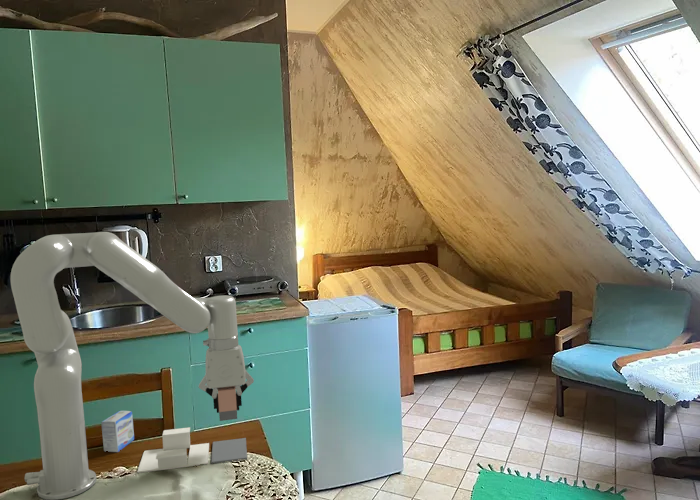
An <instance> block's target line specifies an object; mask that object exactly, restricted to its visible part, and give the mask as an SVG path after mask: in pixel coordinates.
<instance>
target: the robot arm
mask: <svg viewBox="0 0 700 500" xmlns="http://www.w3.org/2000/svg"><path fill="white" fill-rule="evenodd" d="M81 267H96V269H98V270H99V271H101V272H102V273H103V274H105V275H106V276H108V277H110V278H111V279H113V280H114V281H115V282H116V283H118V284H120V285H121V286H122V287H123V288H124V289H125V290H127V291H129V292H130V293H132V294H133V295H134V296H136V297H137V298H139V300H141V301H142V302H144V303H146V304H147V305H149V306H150V307H152V308H153V309H154V310H155V311H157V312H158V313H159V314H161V315H162V316H164V317H165V318H166V319H168V320H169V321H171V322H172V323H173V324H175V325H176V326H178V328H180V329H182V330H184V331H185V332H186V333H191V334H199V333H201V332H203V331H205V330H206V329H207V333H208V336H207V337H208V338H207V339H205V340H202V344H203V346H206V347H207V348H206V349H207V350H205V351H206V353H205V374H204V376H203V377H202V379H201V381H200V382H199V384H198V388H199V389H200V390H202V391H204V392H205V393H206V394H207V395H209V396H210V397H211V398H212V400H213V409H214V410H216V413H217V414H219V403H218V388H225V387H234V386H235V388H236V405H237V412H238V411H240V407H242V406H243V405H242V402H243V401H242V395H243V393H244V392H245V391H246V390H247V388H249V387H250V386H251V385H252V384H254V381H255V380H254V378H253V377H252V375H251V374H250V373H249V372H248V371H247V370H246V365H245V357H244V352H243V348H242V346H241V345H240V344H239V335H238V334H239V332H238V318H237V317H238V316H237V302H236V299H235V297H234V296H232V295H225V294H224V295H223V294H222V295H214V296H211V297H193V296H191V295H190V294H189V293H187V292H186V291H184V290H183V289H182V288H181V287H179V286H178V285H177V284H176V283H175V282H174V281H173V280H172V279H171V278H169V277H168V276H167V274H165V272H164V271H163V270H161V269H160V267H158V266H157V265H155V264H154V263H152V262H151V261H150V260H149V259H147V258H146V257H144V256H143V255H142V254H141V253H139V252H138V251H136V250H135V249H133V248H132V247H131V246H129V245H128V244H127V243H126V242H124V241H123V240H122V239H120V238H119V236H118V235H116V234H115V233H112V232H110V231H97V232H85V233H84V232H83V233H81V232H79V233H78V232H77V233H60V234H50V235H45V236H43V237H41V238H39V239H36V241H34V242H33V243H30V245H29V246H27V247H26V248H25V249H24V250H22V252H21V253H20V254H19V255H18V256H17V257H16V259H15V261H14V263H13V264H12V268H11V270H10V271H11V272H10V288H11V292H12V295H13V298H14V304H15V309H16V312H17V316H18V319H19V323H20V327H21V331H22V337H23V340H24V343H25V344H26V347H27V348H28V349H29V350H30V351H32V352H33V353H34V356H35V359H36V363H37V366H38V367H37V369H36V372H35V374H34V380H33V393H34V398H35V399H34V400H35V404H36V411H37V420H38V430H39V439H40V449H41V461H42V469H40V471H35V472H33V471H32V472H26V473H25V474H24V482H25V483H26V486H32V485H38V486H37V488H36V491H37V495H38V497H39V498H41V499H44V500H62V499H63V500H64V499H67V498H71V497H75V496H77V495H80V494H82V493H84V492H86V491H87V490H89V489H90V488H92V487H93V486H94V485H95V483H96V482H97V473H96V472H95V471H94V470H92V469H89V459H88V448H87V445H88V444H87V435H86V422H85V411H84V404H83V403H84V402H83V401H84V399H83V393H82V391H83V390H82V369H83V368H82V367H83V365H82V359H81V354H80V352H79V351H80V350H79V348H78V344H77V340H76V335H75V333H74V332H75V331H74V328H73V325H72V322H71V320H70V317H69V316H68V314H67V313H66V312H64V310H62V309H61V306H60V302H59V299H58V298H59V297H58V294H57V291H56V288H55V283H54V282H55V281H54V280H55V277H56V275H57V274H58V273H60V272H61V271H63V269H68V268H81Z"/></svg>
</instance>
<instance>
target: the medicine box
mask: <svg viewBox="0 0 700 500" xmlns="http://www.w3.org/2000/svg"><path fill="white" fill-rule="evenodd" d="M133 418H134V417H133V411H131V410H119V411H117V412H115V413H113V414H112V415H111V416H109V417H107V418H106V419H104V420H102V421H101V431H102V432H101V433H102V435H101V436H102V443H103V445H102V446H103V452H106V451H108V452H109V453H119V452H121V451H122V450H123V449H124V448H126V447H127V446H128V445H130V444H131V443H132V442H133V441H134V440H135V432H134V420H133ZM120 450H121V451H120ZM108 452H107V453H108Z"/></svg>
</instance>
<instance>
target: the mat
mask: <svg viewBox="0 0 700 500" xmlns="http://www.w3.org/2000/svg"><path fill="white" fill-rule="evenodd" d="M247 448H248V447H247V438H246V437H242V438H235V439H227V440H226V439H225V440H219V441H218V440H217V441H212V449H211V465H214V464H220V463H219V462H222V463H226V462H225V461H230V462H233V461H232V460H238V459H246V460H248V450H247ZM238 461H239V460H238ZM213 463H214V464H213Z"/></svg>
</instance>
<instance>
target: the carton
mask: <svg viewBox="0 0 700 500" xmlns="http://www.w3.org/2000/svg"><path fill="white" fill-rule="evenodd" d="M190 431H191V426H190V427H182V428H172V429H171V428H170V429H164V430H163V431H162V448H157V449H156V448H155V449H148V450H144V452H143V453H142V457H141V460H140V462H139V465H138V468H137V474H140V473H141V474H142V473H149V472H155V471H164V470H172V469H179V468H181V469H182V468H186V467H194V466H195V465H196V466H201V465H200V464H204V465H208V464H209V463H208V462H209V451H210V442H208V443H207V442H205V443H199V444H198V443H197V444H191V436H190V435H191V432H190ZM187 449H189V452H188V453H187Z"/></svg>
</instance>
